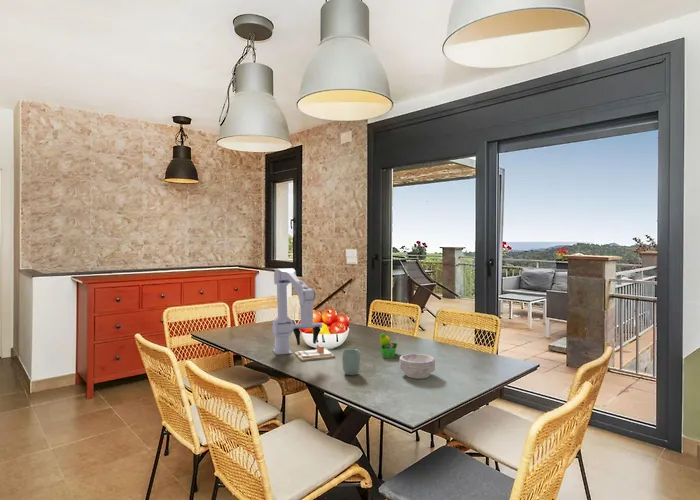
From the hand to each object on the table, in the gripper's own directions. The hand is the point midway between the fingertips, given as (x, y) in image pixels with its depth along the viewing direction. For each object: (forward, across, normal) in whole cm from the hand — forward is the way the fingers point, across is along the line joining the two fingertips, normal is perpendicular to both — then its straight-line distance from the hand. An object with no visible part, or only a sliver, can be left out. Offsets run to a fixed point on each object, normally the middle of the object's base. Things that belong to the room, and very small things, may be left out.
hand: (306, 343), depth 195 cm
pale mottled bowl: (+10, +41, -30) cm, 52 cm away
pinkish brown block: (+9, +13, +14) cm, 21 cm away
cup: (+10, +15, -19) cm, 26 cm away
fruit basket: (+10, +44, +3) cm, 45 cm away
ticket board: (+10, +8, +14) cm, 19 cm away
